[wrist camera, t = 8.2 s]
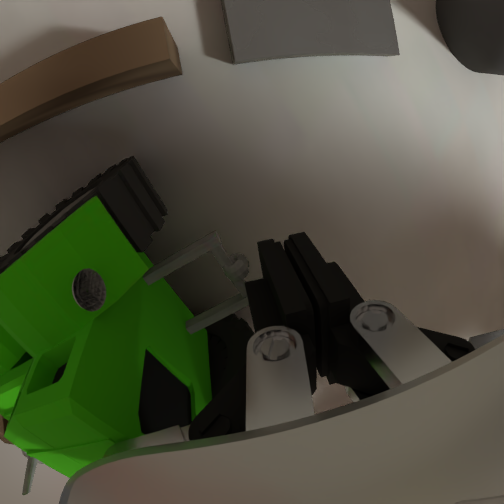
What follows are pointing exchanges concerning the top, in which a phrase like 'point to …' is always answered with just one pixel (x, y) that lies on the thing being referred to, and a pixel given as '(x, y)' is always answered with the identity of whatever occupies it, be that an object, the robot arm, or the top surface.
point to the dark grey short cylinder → (474, 32)
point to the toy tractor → (107, 327)
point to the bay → (86, 80)
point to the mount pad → (308, 28)
